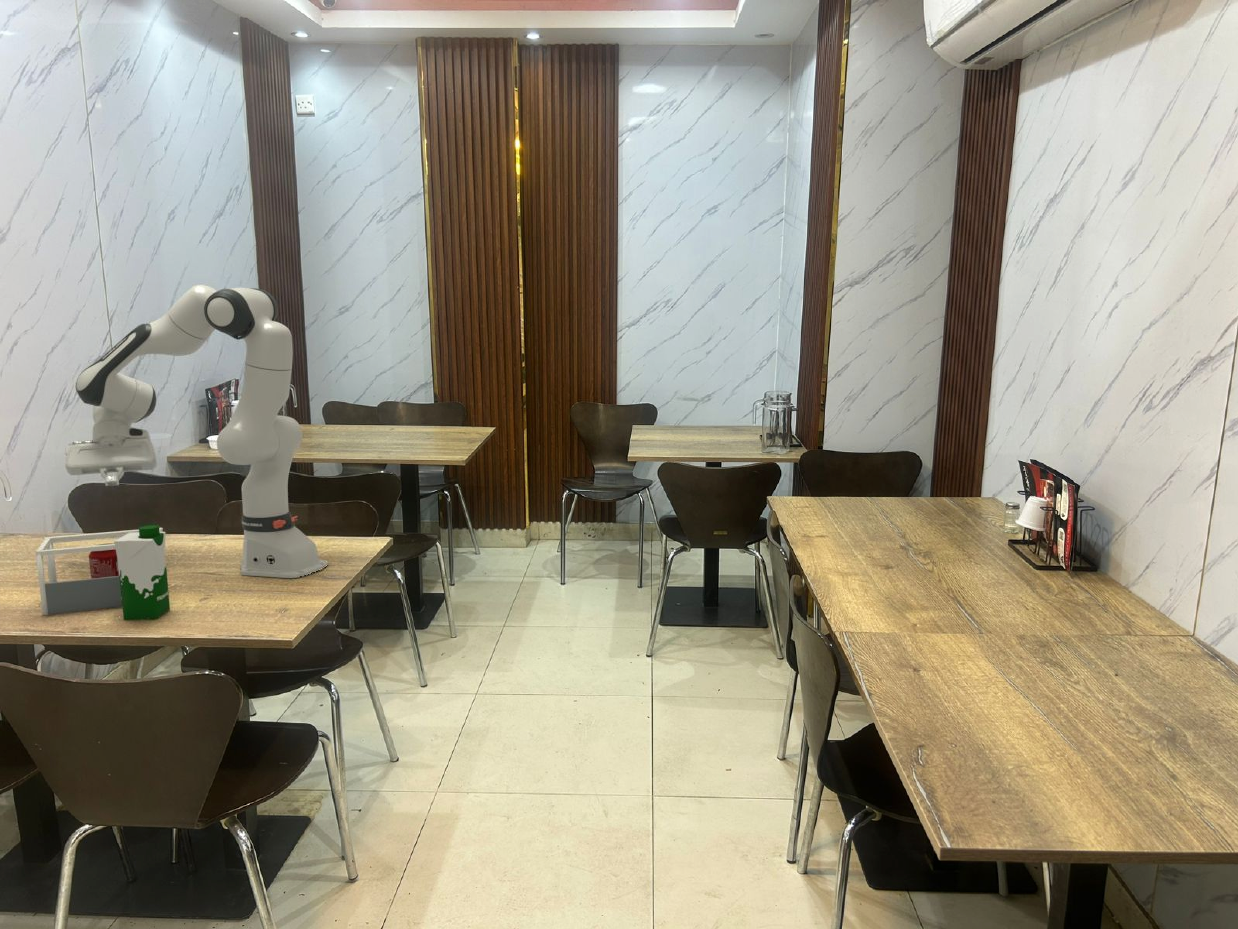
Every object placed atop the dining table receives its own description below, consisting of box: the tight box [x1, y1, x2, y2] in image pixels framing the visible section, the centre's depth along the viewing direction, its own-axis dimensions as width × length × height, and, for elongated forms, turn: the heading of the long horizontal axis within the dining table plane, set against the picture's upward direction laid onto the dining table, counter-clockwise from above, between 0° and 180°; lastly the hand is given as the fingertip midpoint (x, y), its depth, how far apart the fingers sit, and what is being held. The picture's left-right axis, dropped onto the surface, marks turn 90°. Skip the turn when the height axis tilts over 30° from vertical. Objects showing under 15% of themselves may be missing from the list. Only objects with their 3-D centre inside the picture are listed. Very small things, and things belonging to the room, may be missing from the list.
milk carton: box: [113, 524, 171, 621], centre depth 205 cm, size 9×9×20 cm
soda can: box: [88, 542, 119, 579], centre depth 218 cm, size 7×7×12 cm
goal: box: [35, 527, 164, 616], centre depth 215 cm, size 13×25×15 cm, turn 113°
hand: (111, 484), depth 232 cm, fingers closed
